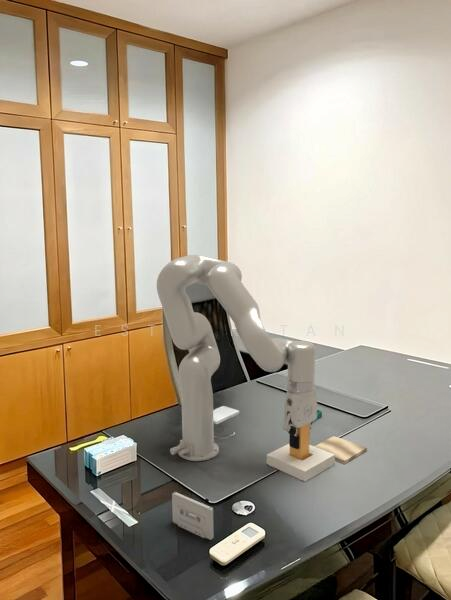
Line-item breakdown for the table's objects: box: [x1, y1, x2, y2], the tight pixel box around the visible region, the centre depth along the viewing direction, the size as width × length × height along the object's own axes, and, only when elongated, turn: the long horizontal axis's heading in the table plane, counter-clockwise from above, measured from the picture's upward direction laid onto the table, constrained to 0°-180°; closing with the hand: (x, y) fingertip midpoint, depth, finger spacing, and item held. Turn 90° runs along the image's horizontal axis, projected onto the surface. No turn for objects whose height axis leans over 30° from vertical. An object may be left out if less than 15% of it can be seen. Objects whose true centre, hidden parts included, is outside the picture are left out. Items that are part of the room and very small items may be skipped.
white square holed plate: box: [266, 443, 336, 482], centre depth 154 cm, size 14×14×3 cm
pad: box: [313, 435, 368, 465], centre depth 162 cm, size 12×12×1 cm
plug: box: [290, 423, 311, 461], centre depth 153 cm, size 4×4×11 cm
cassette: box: [171, 491, 215, 541], centre depth 123 cm, size 12×2×8 cm, turn 53°
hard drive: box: [213, 405, 240, 425], centre depth 191 cm, size 2×8×12 cm
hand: (299, 444), depth 154 cm, fingers closed on plug, 3 cm apart
